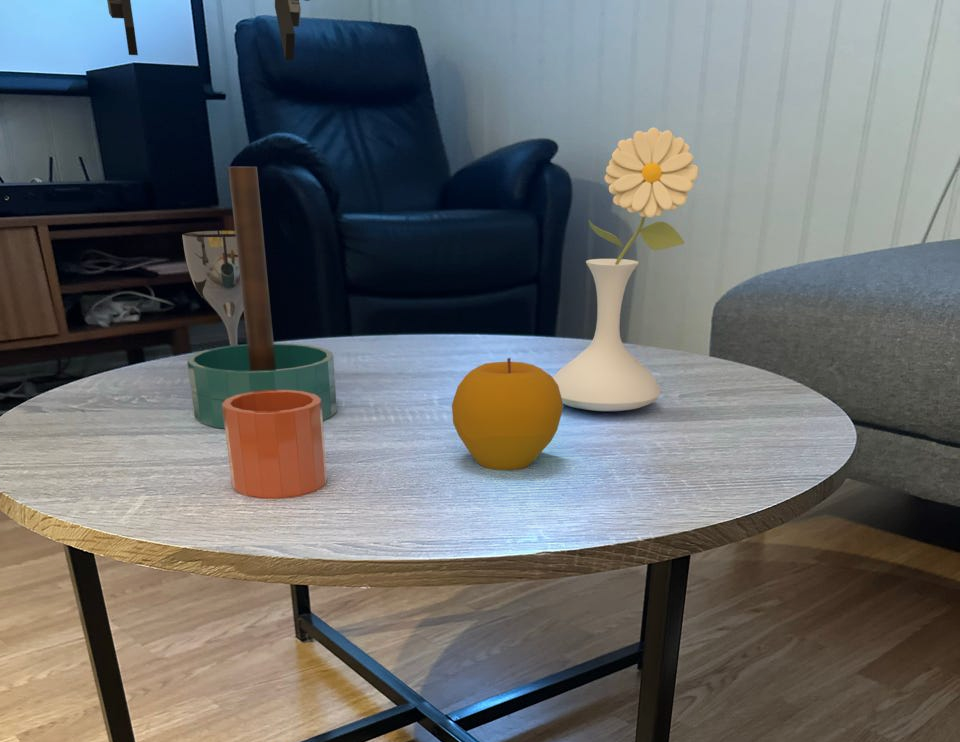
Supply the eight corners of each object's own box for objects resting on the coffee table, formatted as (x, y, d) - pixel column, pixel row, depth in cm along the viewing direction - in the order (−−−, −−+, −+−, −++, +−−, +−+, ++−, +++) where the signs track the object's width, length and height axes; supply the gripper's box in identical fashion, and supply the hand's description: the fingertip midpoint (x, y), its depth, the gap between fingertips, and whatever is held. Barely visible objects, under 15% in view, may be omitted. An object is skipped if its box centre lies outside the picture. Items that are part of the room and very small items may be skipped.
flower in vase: (529, 412, 93) (538, 126, 81) (569, 388, 102) (582, 128, 90) (657, 428, 88) (687, 126, 76) (687, 401, 97) (717, 128, 86)
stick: (247, 411, 90) (219, 166, 80) (267, 406, 91) (243, 166, 82) (267, 417, 88) (241, 167, 78) (287, 412, 90) (265, 167, 80)
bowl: (169, 421, 90) (159, 356, 87) (281, 397, 98) (276, 338, 95) (251, 448, 82) (243, 378, 79) (365, 419, 90) (361, 356, 88)
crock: (215, 493, 71) (203, 401, 68) (289, 472, 76) (281, 385, 73) (271, 515, 67) (261, 418, 64) (346, 492, 72) (340, 400, 68)
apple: (577, 483, 74) (584, 367, 70) (467, 492, 72) (467, 373, 68) (541, 451, 82) (545, 345, 77) (441, 458, 79) (439, 350, 75)
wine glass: (252, 366, 112) (237, 229, 104) (285, 378, 106) (272, 234, 99) (189, 375, 107) (169, 233, 100) (220, 388, 102) (201, 238, 95)
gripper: (312, -79, 95) (348, 84, 90) (48, -99, 88) (69, 76, 83) (317, -160, 88) (356, 11, 83) (30, -189, 81) (52, -4, 76)
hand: (212, 44), depth 83 cm, fingers open, 13 cm apart
